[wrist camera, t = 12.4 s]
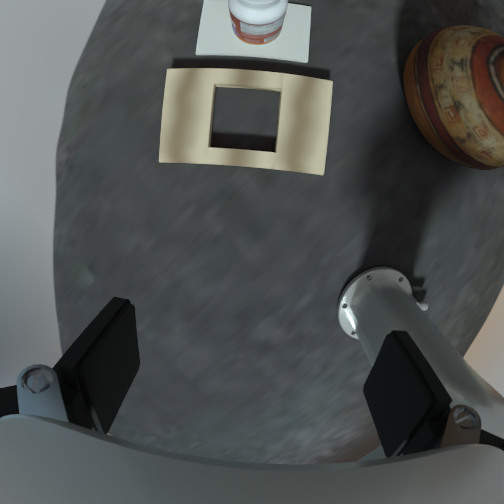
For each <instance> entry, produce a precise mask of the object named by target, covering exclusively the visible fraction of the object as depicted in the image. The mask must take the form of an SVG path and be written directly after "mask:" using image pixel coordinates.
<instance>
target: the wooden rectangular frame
mask: <svg viewBox="0 0 504 504" xmlns="http://www.w3.org/2000/svg"><path fill="white" fill-rule="evenodd" d="M332 85H333V81H329V80H324V79H318V78H313V77H306V76H300V75H293V74H285V73H277V72H267V71H256V70H243V69H221V68H180V69H167V76H166V84H165V92H164V102H163V112H162V123H161V136H160V152H159V162H173V163H199V164H217V165H232V166H245V167H257V168H267V169H277V170H286V171H295V172H303V173H311V174H319V175H324V168H325V160H326V151H327V142H328V132H329V122H330V110H331V98H332ZM216 87H234V88H250V89H261V90H272V91H281V93H280V104H279V115H278V125H277V136H276V146H275V152H265V151H254V150H242V149H228V148H211V135H212V124H213V113H214V103H215V93H216Z"/></svg>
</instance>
